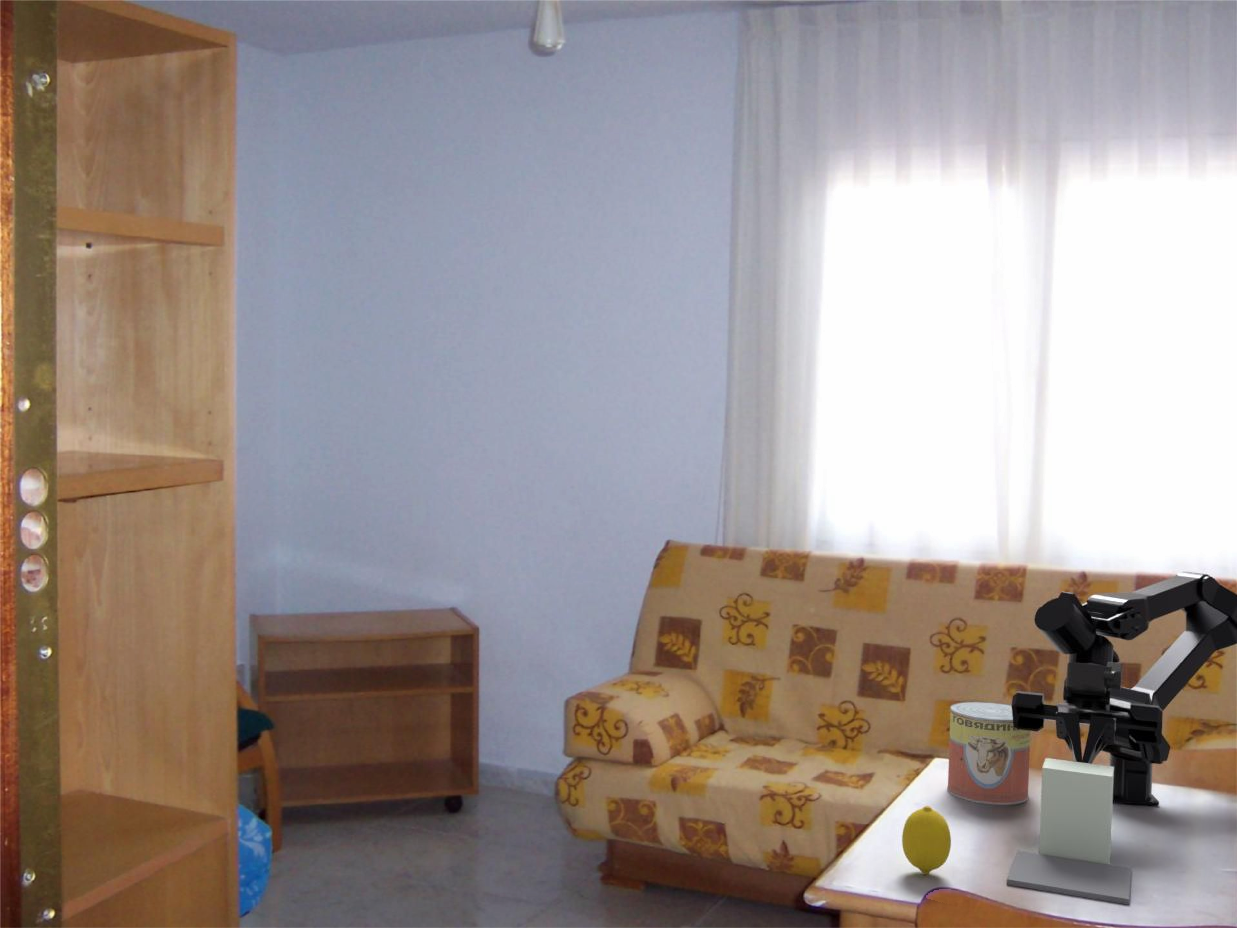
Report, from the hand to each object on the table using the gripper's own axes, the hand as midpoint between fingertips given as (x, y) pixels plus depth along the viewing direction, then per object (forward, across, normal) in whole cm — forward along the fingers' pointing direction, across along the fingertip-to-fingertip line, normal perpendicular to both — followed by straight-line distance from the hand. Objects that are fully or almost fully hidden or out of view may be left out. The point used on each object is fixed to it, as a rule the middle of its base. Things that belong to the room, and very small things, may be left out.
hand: (1081, 772), depth 161 cm
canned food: (-4, -13, +16) cm, 21 cm away
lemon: (+23, -16, -11) cm, 30 cm away
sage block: (+12, 0, 0) cm, 12 cm away
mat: (+18, 0, -7) cm, 19 cm away
